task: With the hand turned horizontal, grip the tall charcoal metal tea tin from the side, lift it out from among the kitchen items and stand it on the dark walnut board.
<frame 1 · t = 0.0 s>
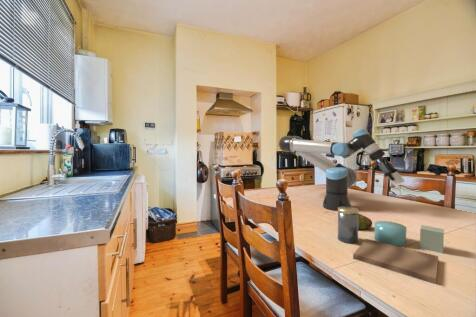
hand: (400, 184, 121), 15 cm above the table, tool tilted 35°, fingers open, 13 cm apart
potato: (354, 227, 99), on the table
tea tin: (347, 239, 86), on the table
teal domed cylinder: (389, 240, 85), on the table
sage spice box: (431, 248, 78), on the table
walnut board: (394, 259, 71), on the table
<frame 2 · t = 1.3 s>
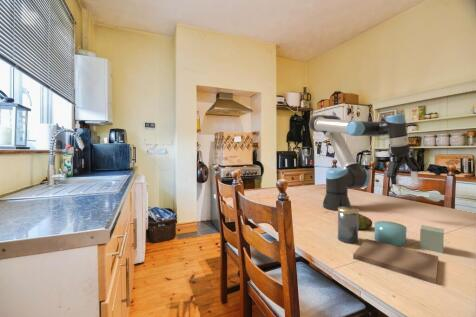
hand: (406, 187, 111), 15 cm above the table, tool pointing down, fingers open, 13 cm apart
nothing on the table moved.
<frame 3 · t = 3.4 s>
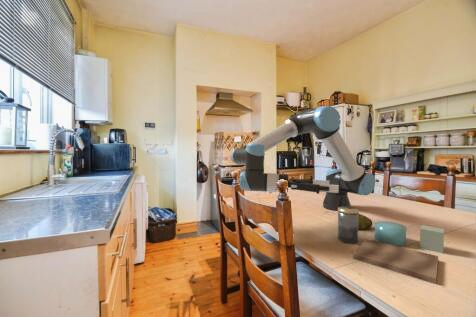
hand: (333, 186, 86), 21 cm above the table, tool horizontal, fingers open, 13 cm apart
nothing on the table moved.
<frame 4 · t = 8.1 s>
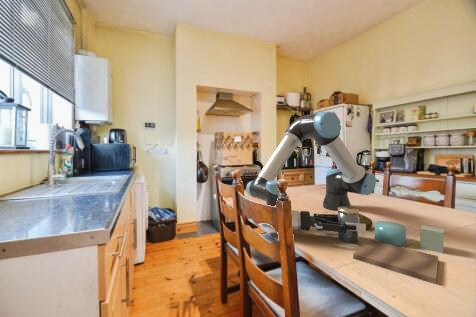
hand: (362, 224, 85), 7 cm above the table, tool horizontal, fingers closed on tea tin, 7 cm apart
tea tin: (347, 239, 86), on the table, touching gripper
everything else where it was.
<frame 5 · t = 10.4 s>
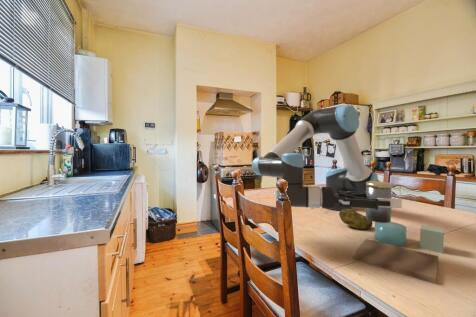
hand: (395, 200, 72), 18 cm above the table, tool horizontal, fingers closed on tea tin, 7 cm apart
tea tin: (377, 219, 74), point 12 cm above the table, touching gripper
everything else where it was.
when the fingers open (9 cm above the table, at t = 12.8 s): tea tin drops 1 cm, resting on walnut board.
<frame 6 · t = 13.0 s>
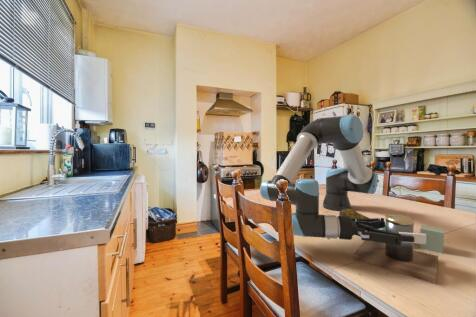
hand: (415, 232, 69), 9 cm above the table, tool horizontal, fingers open, 9 cm apart
tea tin: (398, 256, 70), point 2 cm above the table, touching walnut board
everything else where it was.
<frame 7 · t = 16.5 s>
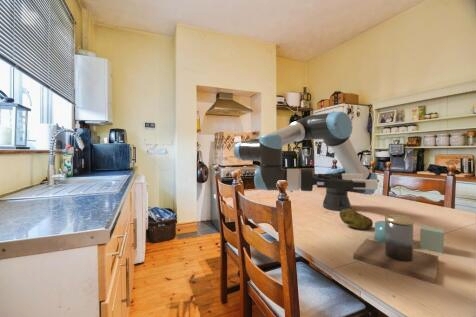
hand: (369, 180, 71), 25 cm above the table, tool horizontal, fingers open, 13 cm apart
nothing on the table moved.
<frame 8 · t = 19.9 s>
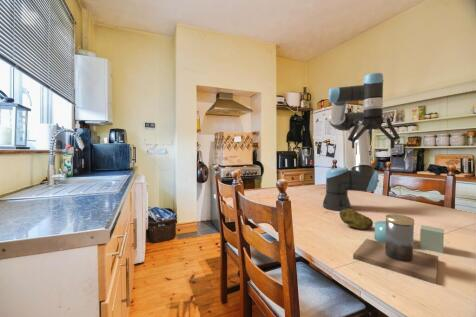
hand: (372, 155, 102), 32 cm above the table, tool pointing down, fingers open, 13 cm apart
nothing on the table moved.
at the end: tea tin inside the target area on the walnut board (0.4 cm from its centre), point 1.6 cm above the walnut board's base; tea tin tilted 1°; the gripper is holding nothing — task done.
